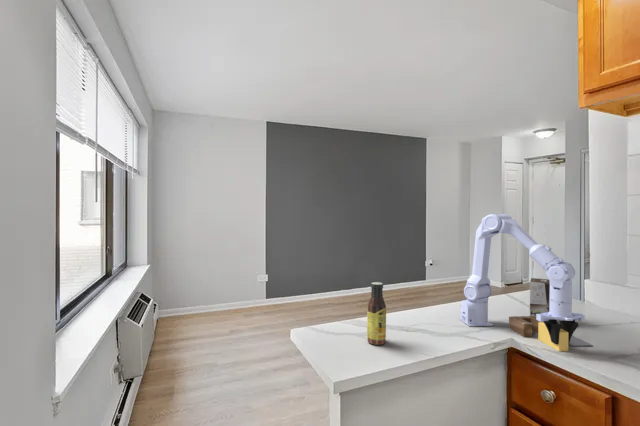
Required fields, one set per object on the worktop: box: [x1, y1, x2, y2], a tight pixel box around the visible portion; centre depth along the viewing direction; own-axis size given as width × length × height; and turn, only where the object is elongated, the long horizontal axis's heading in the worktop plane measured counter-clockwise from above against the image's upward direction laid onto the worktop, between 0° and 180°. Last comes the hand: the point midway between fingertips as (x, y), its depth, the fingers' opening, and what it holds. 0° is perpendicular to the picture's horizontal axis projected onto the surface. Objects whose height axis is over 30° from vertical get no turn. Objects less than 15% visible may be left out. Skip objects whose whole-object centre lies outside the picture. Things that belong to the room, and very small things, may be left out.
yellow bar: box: [537, 322, 569, 352], centre depth 105 cm, size 3×9×6 cm, turn 3°
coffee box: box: [529, 277, 550, 317], centre depth 129 cm, size 9×6×16 cm
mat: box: [568, 334, 594, 348], centre depth 110 cm, size 7×11×1 cm, turn 3°
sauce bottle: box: [366, 281, 387, 346], centre depth 108 cm, size 6×6×20 cm
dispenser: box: [508, 315, 540, 338], centre depth 116 cm, size 10×8×5 cm
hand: (560, 343), depth 102 cm, fingers closed on yellow bar, 3 cm apart
